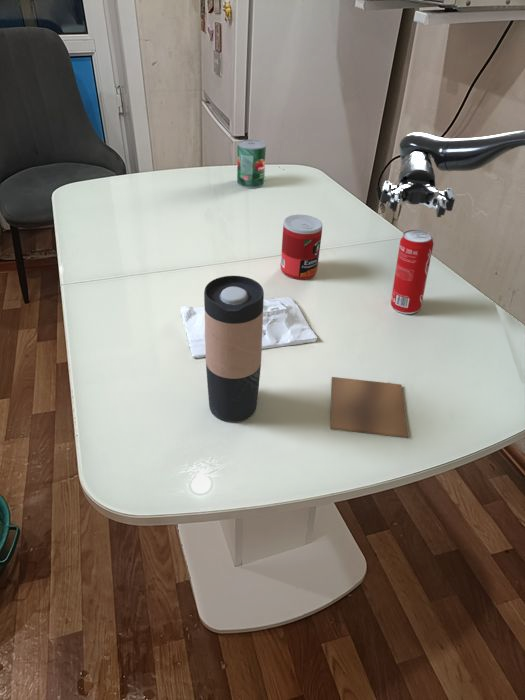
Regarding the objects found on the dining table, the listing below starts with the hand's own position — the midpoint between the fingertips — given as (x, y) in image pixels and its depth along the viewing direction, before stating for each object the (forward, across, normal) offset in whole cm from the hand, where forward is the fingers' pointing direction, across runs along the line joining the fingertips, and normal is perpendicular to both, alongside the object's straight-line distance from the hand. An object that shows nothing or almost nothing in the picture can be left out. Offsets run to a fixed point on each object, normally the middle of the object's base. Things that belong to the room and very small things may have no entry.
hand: (417, 209), depth 98 cm
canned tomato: (-42, +43, -16) cm, 63 cm away
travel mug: (+46, +24, -15) cm, 54 cm away
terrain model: (+26, +27, -15) cm, 41 cm away
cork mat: (+41, +4, -15) cm, 44 cm away
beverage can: (+11, 0, -15) cm, 19 cm away
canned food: (+4, +21, -15) cm, 26 cm away
